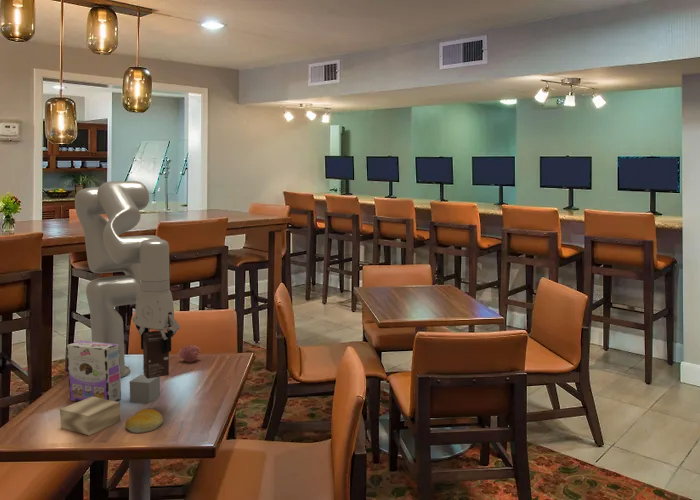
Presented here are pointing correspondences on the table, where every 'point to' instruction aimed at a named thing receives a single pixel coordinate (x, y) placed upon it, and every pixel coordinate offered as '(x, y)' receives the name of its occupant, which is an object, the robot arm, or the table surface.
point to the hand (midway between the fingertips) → (156, 349)
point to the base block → (90, 415)
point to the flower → (189, 353)
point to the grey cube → (144, 389)
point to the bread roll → (144, 421)
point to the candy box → (94, 370)
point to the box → (154, 356)
